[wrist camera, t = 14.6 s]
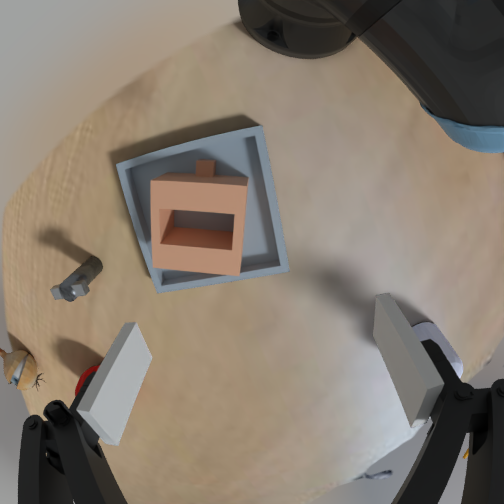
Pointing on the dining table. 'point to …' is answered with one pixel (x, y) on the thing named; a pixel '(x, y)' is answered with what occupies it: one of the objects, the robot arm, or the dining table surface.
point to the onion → (20, 369)
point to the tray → (256, 220)
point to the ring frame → (190, 239)
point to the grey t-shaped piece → (78, 280)
